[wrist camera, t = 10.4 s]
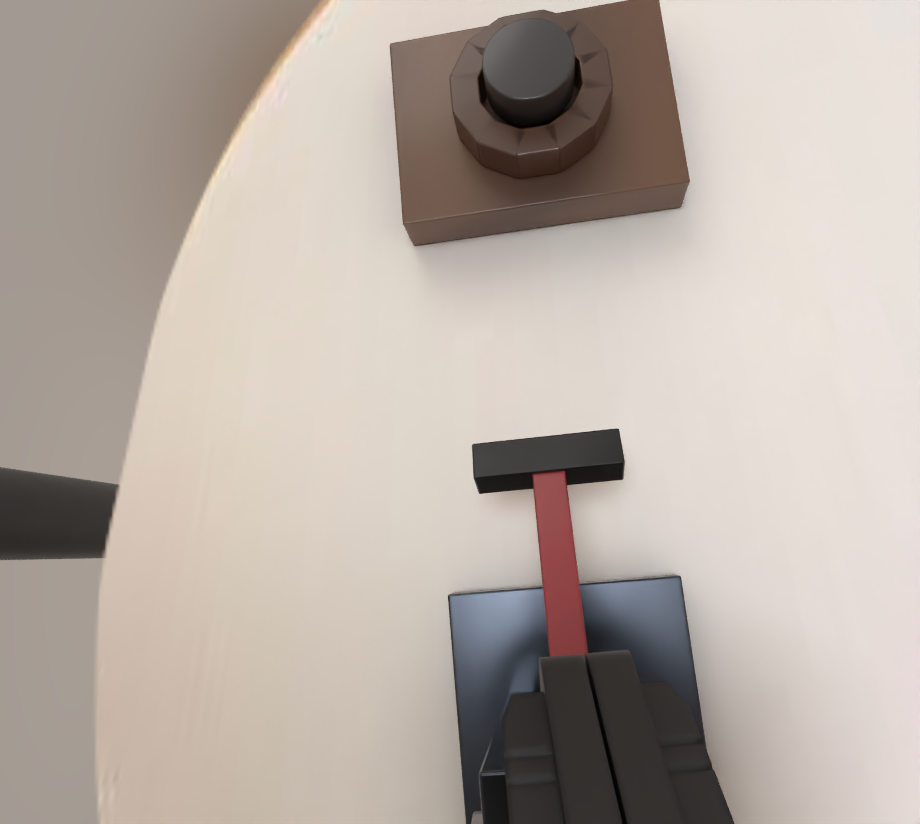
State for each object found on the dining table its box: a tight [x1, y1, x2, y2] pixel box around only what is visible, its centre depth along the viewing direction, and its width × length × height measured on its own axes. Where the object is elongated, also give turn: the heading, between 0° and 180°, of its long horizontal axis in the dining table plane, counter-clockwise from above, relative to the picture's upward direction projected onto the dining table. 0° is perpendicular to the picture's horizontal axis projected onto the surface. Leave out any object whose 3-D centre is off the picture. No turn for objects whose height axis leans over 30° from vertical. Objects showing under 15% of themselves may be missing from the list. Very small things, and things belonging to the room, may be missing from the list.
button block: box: [390, 0, 690, 245], centre depth 30 cm, size 12×9×4 cm
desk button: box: [482, 18, 575, 126], centre depth 28 cm, size 4×4×2 cm
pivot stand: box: [448, 575, 706, 824], centre depth 21 cm, size 12×9×11 cm
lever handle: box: [472, 429, 625, 658], centre depth 21 cm, size 13×5×2 cm, turn 5°
